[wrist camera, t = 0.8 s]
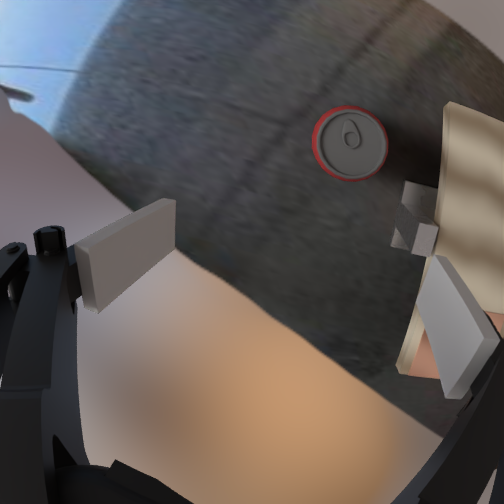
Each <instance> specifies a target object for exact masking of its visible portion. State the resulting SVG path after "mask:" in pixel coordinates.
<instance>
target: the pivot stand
mask: <svg viewBox="0 0 504 504" xmlns="http://www.w3.org/2000/svg"><path fill="white" fill-rule="evenodd" d="M437 194H438V188H434V187H430V186H427V185H423V184H419V183H415V182H411V181H407V180H403V184H402V189H401V194H400V199H399V204H398V208H397V213H396V217H395V221H394V225H393V230H392V234H391V238H390V242H389V244H390V246H391V247H396V248H400V249H405V250H410V252H411V253H412V254H416V255H421V256H425V257H430V256H431V252H432V249H433V246H434V242H435V239H436V235H437V232H438V228H439V227H438V226H437V225H436V224H435V223H434V216H435V209H436V202H437Z"/></svg>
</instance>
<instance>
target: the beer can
mask: <svg viewBox="0 0 504 504" xmlns="http://www.w3.org/2000/svg"><path fill="white" fill-rule="evenodd" d="M312 149H313V152H314V155H315V158H316V160H317V161H318V163H319V164H320V166H321V167H322V169H323V170H325V171H326V172H327V173H329V174H330V175H331V176H332V177H335V178H338V179H340V180H343V181H353V182H356V181H360V180H364V179H368V178H369V177H371V176H372V175H374V174H375V173H377V172H378V170H379V169H380V168H381V167H382V165H383V164H384V162H385V159H386V157H387V154H388V138H387V134H386V131H385V128H384V127H383V125H382V124H381V122H380V121H379V119H378V118H377V117H375V116H374V115H373V114H372V113H370V112H369V111H368V110H365V109H363V108H360V107H358V106H347V105H344V106H340V107H336V108H332V109H331V110H330V111H328V112H327V113H325V114H324V115H322V117H321V118H320V119H319V121H318V122H317V123H316V125H315V128H314V131H313V134H312Z"/></svg>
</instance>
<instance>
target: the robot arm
mask: <svg viewBox="0 0 504 504" xmlns="http://www.w3.org/2000/svg"><path fill="white" fill-rule="evenodd" d="M175 208H176V200H172V199H166V198H162V199H160V200H158V201H156V202H154V203H152V204H150V205H148V206H145V207H143V208H141V209H139V210H137V211H135V212H133V213H131V214H129V215H128V216H125V217H123V218H121V219H120V220H118V221H116V222H114V223H112V224H110V225H108V226H106V227H104V228H102V229H100V230H99V231H97V232H95V233H93V234H91V235H90V236H87V237H86V238H84V239H82V240H80V241H78V242H77V243H75V244H73V245H72V246H70V247H68V248H67V246H66V239H65V230H64V228H63V227H61V226H47V227H43V228H40V229H38V230H36V231H35V232H34V233H33V235H34V241H35V247H36V252H37V254H36V256H35V255H28V252H27V247H26V244H24V243H20V242H18V243H16V242H13V243H9V244H8V245H7V246H5V247H3V248H2V249H1V250H0V379H1V376H2V381H1V387H0V504H193V503H192V502H190V501H189V500H187V499H185V498H184V497H182V496H181V495H179V494H178V493H176V492H174V491H173V490H172V489H170V488H169V487H167V486H166V485H164V484H163V483H162V482H160V481H159V480H157V479H156V478H153V477H151V476H149V475H147V474H144V473H142V472H140V471H138V470H136V469H134V468H132V467H130V466H127V465H126V464H124V463H122V462H119V461H118V460H115V461H114V462H113V464H112V465H111V467H110V468H109V467H104V466H98V465H90V463H89V460H88V458H87V455H86V452H85V448H84V443H83V435H82V428H81V418H80V408H79V395H78V379H77V303H76V299H77V298H79V297H80V296H81V295H82V298H83V303H84V307H85V308H86V309H88V310H91V311H93V312H96V313H98V314H99V313H100V312H101V311H102V310H103V309H104V308H105V307H106V306H108V305H109V304H110V303H111V302H112V301H113V300H114V299H116V298H117V297H118V296H119V295H120V294H122V293H123V292H124V291H125V290H126V289H127V288H128V287H130V286H131V285H132V284H133V283H134V282H136V281H137V280H138V279H139V278H140V277H141V276H143V275H144V274H145V273H146V272H147V271H148V270H150V269H151V268H152V267H153V266H155V265H156V264H157V263H158V262H159V261H160V260H162V259H163V258H164V257H165V256H166V255H168V254H169V253H170V252H172V251H173V250H174V249H175ZM8 289H9V293H10V297H8ZM416 304H417V307H418V310H419V313H420V316H421V318H422V321H423V324H424V327H425V330H426V333H427V336H428V339H429V342H430V345H431V349H432V352H433V355H434V359H435V362H436V365H437V369H438V372H439V376H440V380H441V383H442V387H443V391H444V395H445V398H450V399H462V398H463V396H464V395H465V394H466V392H467V391H468V389H469V388H471V391H472V394H473V395H472V397H471V398H470V399H469V401H468V402H467V403H466V404H465V406H464V407H463V408H462V409H461V411H460V412H459V413H458V414H457V416H458V418H457V420H456V421H455V423H454V424H453V426H452V427H451V429H450V430H449V432H448V433H447V435H446V436H445V438H444V439H443V441H442V442H441V443H440V445H439V446H438V448H437V449H436V450H435V452H434V453H433V454H432V456H431V457H430V458H429V460H428V461H427V462H426V464H425V465H424V466H423V467H422V469H421V470H420V471H419V472H418V473H417V475H416V476H415V477H414V478H413V479H412V481H411V482H410V483H409V484H408V485H407V487H405V489H404V490H403V491H402V492H401V493H400V494H399V495H398V496H397V497H396V499H395V500H394V501H393V502H392V503H391V504H477V502H478V500H479V499H480V497H481V495H482V493H483V491H484V489H485V487H486V486H487V484H488V481H489V480H490V478H491V476H492V473H493V471H494V469H495V467H496V465H497V463H498V467H497V472H496V477H495V481H494V485H493V490H492V493H491V497H490V501H489V504H504V340H503V338H502V337H501V335H500V333H499V331H497V328H496V326H495V325H494V323H493V321H492V320H491V318H490V316H489V315H488V314H487V313H486V312H485V311H484V310H482V308H481V307H480V305H479V304H478V302H477V301H476V299H475V297H474V296H473V294H472V293H471V291H470V290H469V288H468V287H467V285H466V284H465V282H464V281H463V279H462V278H461V277H460V275H459V274H458V272H457V271H456V269H455V268H454V267H453V265H452V264H451V263H450V261H449V260H448V258H447V257H444V256H440V255H437V254H433V257H432V260H431V263H430V266H429V269H428V271H427V274H426V277H425V279H424V282H423V285H422V287H421V290H420V292H419V295H418V297H417V300H416ZM2 374H3V375H2ZM498 461H499V462H498Z"/></svg>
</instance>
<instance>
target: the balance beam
mask: <svg viewBox="0 0 504 504" xmlns="http://www.w3.org/2000/svg"><path fill="white" fill-rule="evenodd" d="M434 223H435V224H436V225H437V226H438V227H439V228H438V232H437V235H436V239H435V242H434V246H433V249H432V252H431V256H430V257H427V259H426V263H425V268H424V272H423V276H422V281H421V285H420V289H419V292H420V290H421V287H422V285H423V282H424V279H425V277H426V274H427V271H428V269H429V266H430V263H431V260H432V257H433V254H437V255H440V256H444V257H447V258H448V260H449V261H450V263H451V264H452V265H453V267H454V268H455V269H456V271H457V272H458V274H459V275H460V277H461V278H462V279H463V281H464V282H465V284H466V285H467V287H468V288H469V290H470V291H471V293H472V294H473V296H474V297H475V299H476V301H477V302H478V304H479V305H480V307H481V308H482V310H484V311H485V312H486V313H487V314H488V315H489V316H490V318H491V320H492V321H493V323H494V325H495V326H496V328H497V331H499V333H500V335H501V337H502V338H503V337H504V122H501V121H499V120H497V119H495V118H492V117H490V116H488V115H485V114H483V113H480V112H478V111H475V110H473V109H470V108H467V107H465V106H462V105H459V104H456V103H453V102H451V101H450V102H449V103H448V104H446V105H445V106H444V107H443V139H442V155H441V167H440V177H439V186H438V194H437V202H436V209H435V216H434ZM419 292H418V295H419ZM417 297H418V296H417ZM396 366H397V369H398V371H399V373H400V374H408V375H409V376H418V377H428V378H438V379H440V376H439V372H438V369H437V365H436V362H435V359H434V355H433V352H432V349H431V345H430V342H429V339H428V336H427V333H426V330H425V327H424V324H423V321H422V318H421V316H420V313H419V310H418V307H417V304H415V307H414V311H413V314H412V318H411V321H410V324H409V327H408V331H407V334H406V337H405V340H404V343H403V346H402V349H401V352H400V355H399V357H398V360H397V363H396Z"/></svg>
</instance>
